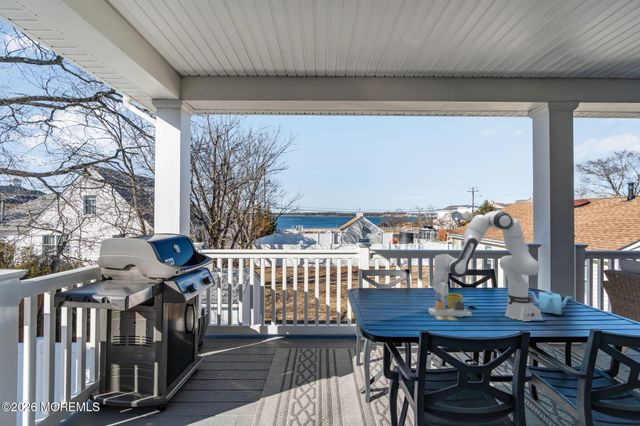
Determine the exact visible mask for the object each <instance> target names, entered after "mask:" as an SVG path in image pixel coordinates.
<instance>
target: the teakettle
mask: <svg viewBox="0 0 640 426" xmlns="http://www.w3.org/2000/svg"><path fill="white" fill-rule="evenodd" d="M529 293H530V294H531V295H532V298H534V300H535V301H534V303H535V304H536V305H538V309H539V310H540V311H541V312H546V314H547V313H549V314H553V313H558V315H562V308H564V307H565V306H566V305H567V303H568V300H569V299H572V296H565V297H564V299H563V301H562V297H561V294H560V293H553V291H548V290H547V291H546V292H544V291H538V297H537V296H536V293H535V292H534V291H528V294H529Z"/></svg>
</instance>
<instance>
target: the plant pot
mask: <svg viewBox="0 0 640 426" xmlns="http://www.w3.org/2000/svg"><path fill="white" fill-rule="evenodd" d="M463 298H464V297H463V295H461V294H459V293H448V296H445V299H446V301H447V305H448V306H447V307H448V308H447V309H452V308H454V302H458V299H461V302H463Z"/></svg>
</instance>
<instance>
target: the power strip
mask: <svg viewBox="0 0 640 426" xmlns="http://www.w3.org/2000/svg"><path fill="white" fill-rule="evenodd" d="M435 307H436V306H433V308H432V307H431V308H430V307H429V308H428V310H427V311H428V313H429V314H430V315H431V316H454V317H463V316H471V317H472V312H471V311H470V310H469V309H465V308H464V310H455V309H454V308H452V309H449V308H446V307H445V309H436V308H435Z"/></svg>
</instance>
